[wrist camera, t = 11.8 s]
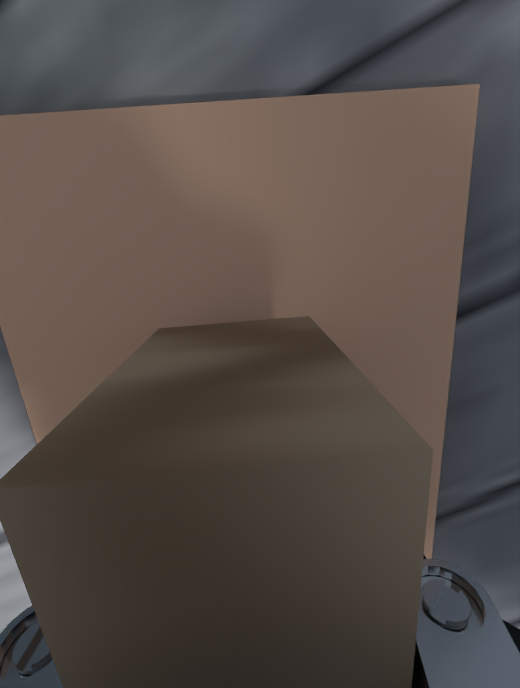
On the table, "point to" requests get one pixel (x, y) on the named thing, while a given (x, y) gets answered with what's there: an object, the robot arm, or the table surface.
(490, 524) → the table surface
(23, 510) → the card box
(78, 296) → the mat
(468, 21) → the table surface
